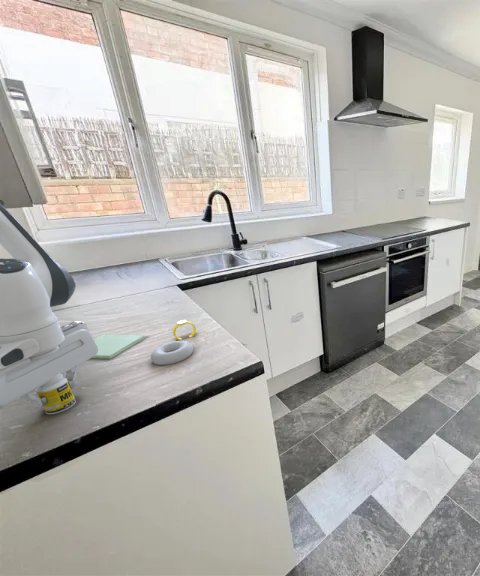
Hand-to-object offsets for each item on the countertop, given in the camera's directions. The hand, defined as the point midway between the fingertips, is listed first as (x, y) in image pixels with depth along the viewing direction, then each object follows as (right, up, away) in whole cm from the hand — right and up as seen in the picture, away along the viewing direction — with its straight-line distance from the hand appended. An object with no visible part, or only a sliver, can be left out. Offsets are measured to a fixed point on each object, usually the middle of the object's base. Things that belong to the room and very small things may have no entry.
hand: (56, 396), depth 67 cm
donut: (+12, +4, +20) cm, 24 cm away
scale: (-12, +5, +26) cm, 29 cm away
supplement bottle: (0, -3, +1) cm, 3 cm away
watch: (+8, +7, +31) cm, 33 cm away
